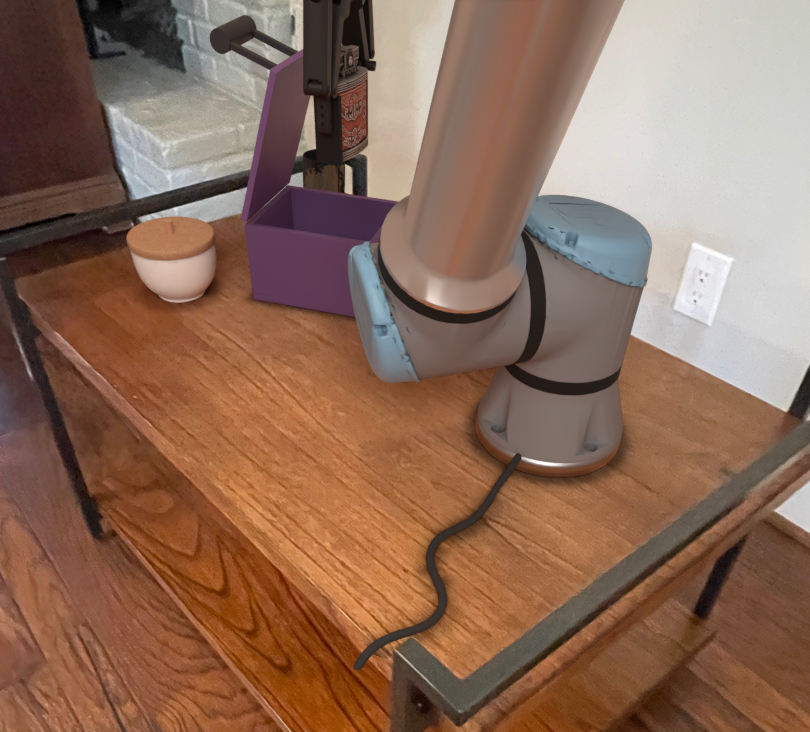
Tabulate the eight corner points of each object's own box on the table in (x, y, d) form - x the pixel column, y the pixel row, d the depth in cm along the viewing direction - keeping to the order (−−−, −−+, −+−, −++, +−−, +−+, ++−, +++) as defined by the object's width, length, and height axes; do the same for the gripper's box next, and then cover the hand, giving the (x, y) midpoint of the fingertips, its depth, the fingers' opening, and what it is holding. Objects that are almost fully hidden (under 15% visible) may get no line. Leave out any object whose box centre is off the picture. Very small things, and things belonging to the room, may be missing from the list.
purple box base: (403, 273, 105) (405, 202, 98) (373, 320, 96) (373, 245, 89) (293, 255, 108) (287, 184, 101) (253, 299, 99) (244, 224, 92)
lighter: (349, 138, 86) (346, 36, 79) (374, 144, 85) (374, 41, 78) (310, 160, 81) (304, 53, 74) (337, 166, 80) (333, 58, 73)
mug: (298, 230, 114) (292, 145, 105) (328, 221, 116) (324, 137, 108) (328, 249, 110) (324, 162, 101) (358, 239, 112) (357, 154, 104)
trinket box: (214, 313, 96) (202, 240, 89) (130, 310, 96) (111, 237, 89) (229, 274, 103) (219, 204, 97) (151, 271, 103) (136, 201, 97)
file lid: (323, 42, 88) (251, 5, 87) (277, 72, 79) (196, 30, 78) (289, 182, 101) (227, 150, 100) (246, 222, 91) (177, 187, 91)
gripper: (336, -109, 59) (344, 189, 75) (408, -131, 73) (401, 124, 89) (248, -116, 60) (274, 179, 77) (336, -136, 74) (342, 116, 91)
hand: (343, 149), depth 83 cm, fingers closed on lighter, 8 cm apart
